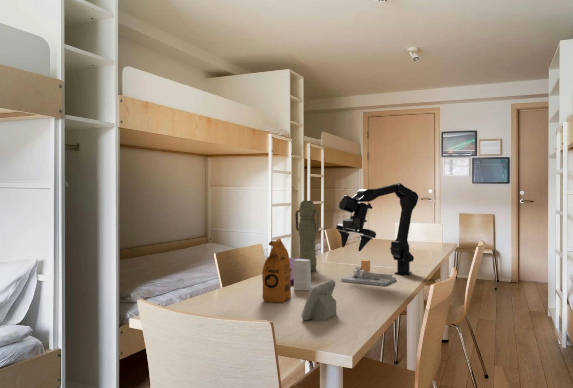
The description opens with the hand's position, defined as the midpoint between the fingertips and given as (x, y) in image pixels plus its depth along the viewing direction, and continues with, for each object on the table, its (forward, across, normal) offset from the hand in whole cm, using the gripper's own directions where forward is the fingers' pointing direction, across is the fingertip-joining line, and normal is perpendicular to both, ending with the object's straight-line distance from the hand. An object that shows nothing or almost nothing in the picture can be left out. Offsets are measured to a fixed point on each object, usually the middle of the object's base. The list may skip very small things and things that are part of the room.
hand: (350, 249), depth 202 cm
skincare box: (+22, 0, -25) cm, 33 cm away
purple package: (+22, -15, -17) cm, 31 cm away
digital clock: (+26, +31, -49) cm, 63 cm away
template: (+11, +9, +6) cm, 16 cm away
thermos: (+15, -29, +8) cm, 34 cm away
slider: (+10, +6, +7) cm, 13 cm away
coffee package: (+27, +5, -43) cm, 50 cm away
